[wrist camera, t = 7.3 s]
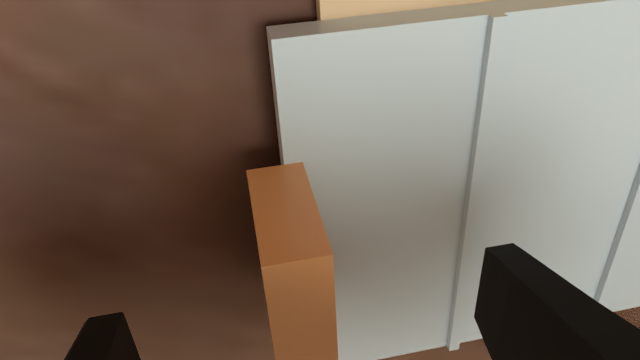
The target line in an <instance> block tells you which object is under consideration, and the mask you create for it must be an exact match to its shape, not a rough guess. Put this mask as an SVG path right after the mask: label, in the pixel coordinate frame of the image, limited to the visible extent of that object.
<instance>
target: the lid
mask: <svg viewBox="0 0 640 360" xmlns="http://www.w3.org/2000/svg"><path fill="white" fill-rule="evenodd" d="M266 30H267V39H268V49H269V58H270V67H271V77H272V86H273V95H274V105H275V114H276V123H277V133H278V142H279V151H280V161H281V165H278V166H271V167H264V168H257V169H251V170H246V173H247V179H248V186H249V192H250V199H251V206H252V212H253V219H254V225H255V232H256V238H257V245H258V252H259V258H260V265H261V271H262V278H263V285H264V291H265V298H266V304H267V311H268V318H269V324H270V330H271V337H272V343H273V350H274V356H275V360H379V359H384V358H388V357H393V356H398V355H403V354H408V353H413V352H418V351H423V350H428V349H433V348H438V347H443V346H447V348H448V350H449V351H452V350H457V349H459V345H460V343H462V342H467V341H472V340H477V339H482V335H481V333H480V330H479V328H478V325H477V323H476V321H475V318H474V313H475V307H476V301H477V295H478V288H479V282H480V276H481V270H482V264H483V258H484V252H485V248H487V247H493V246H498V245H504V244H510V243H514V244H515V245H517V246H518V247H520V248H521V249H523V250H524V251H526V252H527V253H529V254H530V255H531V256H533V257H534V258H536V259H537V260H539V261H540V262H541V263H543V264H544V265H546V266H547V267H548V268H550V269H551V270H553V271H554V272H555V273H557V274H558V275H560V276H561V277H563V278H564V279H565V280H567V281H568V282H570V283H571V284H573V285H574V286H575V287H577V288H578V289H580V290H581V291H583V292H584V293H586V294H587V295H588V296H590V297H591V298H593V299H594V300H596V301H597V302H599V303H600V304H602V305H603V306H605V307H606V308H608V309H609V310H611V311H612V312H615V311H620V310H625V309H630V308H634V307H639V306H640V0H498V1H489V2H480V3H471V4H462V5H454V6H445V7H436V8H427V9H418V10H409V11H400V12H391V13H382V14H373V15H364V16H355V17H346V18H337V19H328V20H319V21H310V22H301V23H292V24H283V25H274V26H266Z"/></svg>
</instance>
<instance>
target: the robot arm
mask: <svg viewBox="0 0 640 360" xmlns="http://www.w3.org/2000/svg"><path fill="white" fill-rule="evenodd" d="M474 318H475V321H476V323H477V325H478V328H479V330H480V333H481V335H482V338H483V340H484V342H485V345H486V347H487V349H488V351H489V354H490V356H491V358H492V360H640V329H638V328H637V327H635V326H634V325H632V324H631V323H629V322H628V321H626V320H624V319H623V318H621V317H620V316H618V315H617V314H615V313H614V312H612V311H611V310H609V309H608V308H606V307H605V306H603V305H602V304H600V303H599V302H597V301H596V300H594V299H593V298H591V297H590V296H588V295H587V294H586V293H584V292H583V291H581V290H580V289H578V288H577V287H575V286H574V285H573V284H571V283H570V282H568V281H567V280H565V279H564V278H563V277H561V276H560V275H558V274H557V273H555V272H554V271H553V270H551V269H550V268H548V267H547V266H546V265H544V264H543V263H541V262H540V261H539V260H537V259H536V258H534V257H533V256H531V255H530V254H529V253H527V252H526V251H524V250H523V249H521V248H520V247H518V246H517V245H515V244H514V243H510V244H504V245H498V246H493V247H487V248H485V252H484V258H483V264H482V270H481V276H480V282H479V288H478V295H477V301H476V307H475V313H474ZM64 360H141V359H140V357H139V354H138V351H137V348H136V346H135V343H134V340H133V338H132V335H131V332H130V330H129V327H128V324H127V322H126V319H125V316H124V314H123V312H119V313H114V314H108V315H102V316H97V317H91V318H89V319H88V320H87V321H86V322H85V323H84V325H83V327H82V329H81V331H80V332H79V334H78V336H77V338H76V340H75V341H74V343H73V345H72V347H71V348H70V350H69V352H68V354H67V355H66V357H65V359H64Z"/></svg>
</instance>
